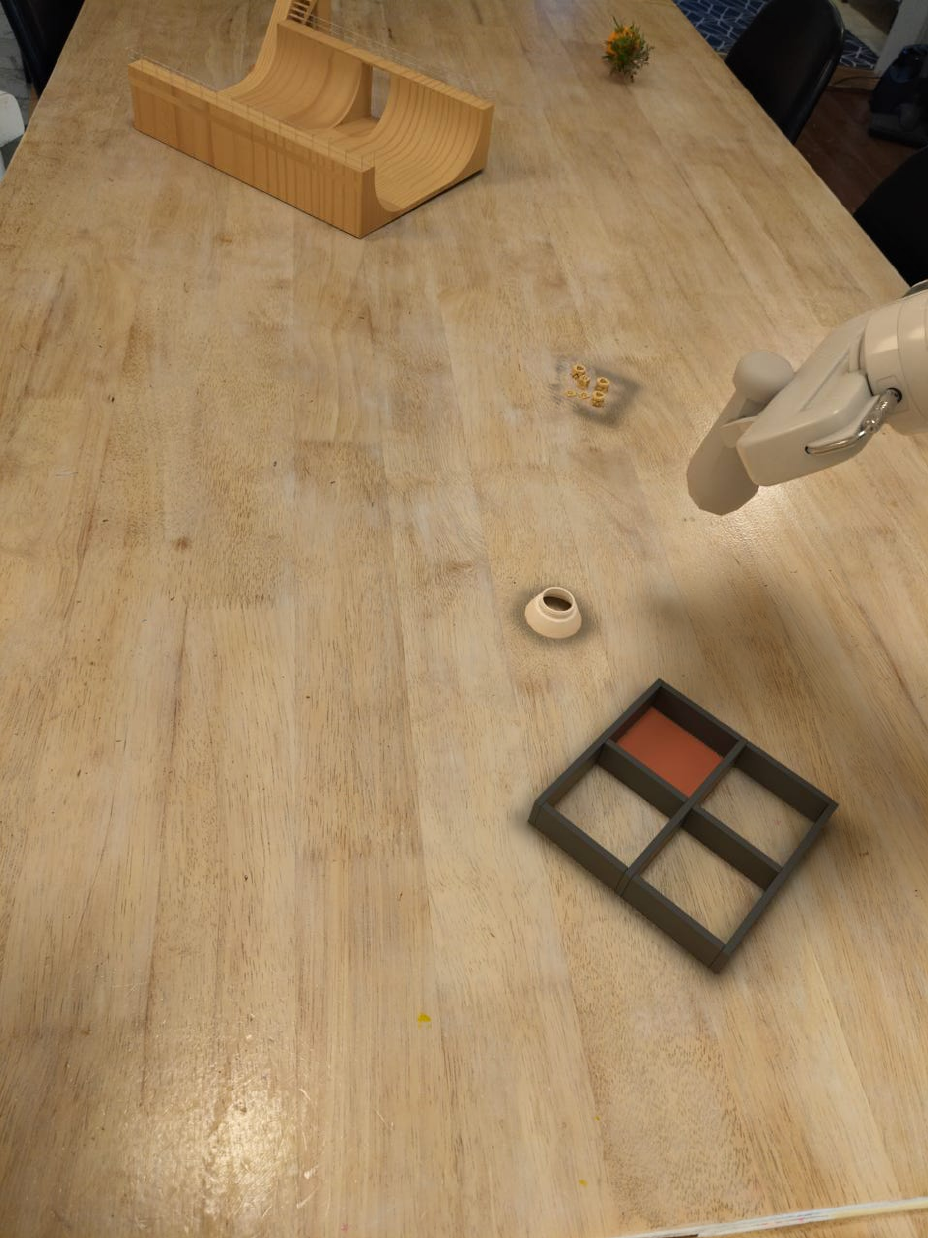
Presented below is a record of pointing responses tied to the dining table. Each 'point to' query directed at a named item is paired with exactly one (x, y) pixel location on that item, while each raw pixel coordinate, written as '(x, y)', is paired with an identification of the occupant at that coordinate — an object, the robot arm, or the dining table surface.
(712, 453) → the beige game pawn
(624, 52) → the christmas decoration
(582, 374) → the golden ring cluster
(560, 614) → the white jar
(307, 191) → the skate ramp
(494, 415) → the dining table surface
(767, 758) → the grid
